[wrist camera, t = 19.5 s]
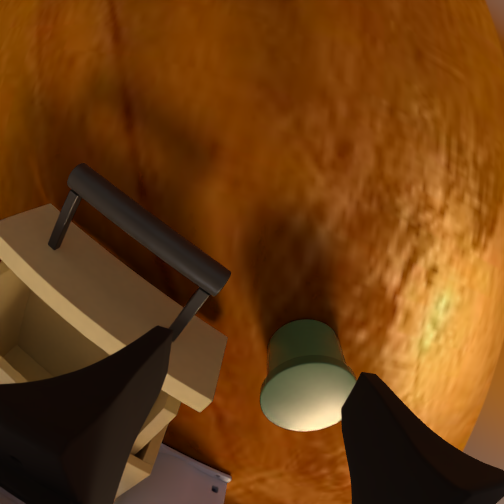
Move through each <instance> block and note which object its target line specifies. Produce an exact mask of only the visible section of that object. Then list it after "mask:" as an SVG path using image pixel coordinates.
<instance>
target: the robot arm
mask: <svg viewBox="0 0 504 504" xmlns="http://www.w3.org/2000/svg"><path fill="white" fill-rule="evenodd" d="M172 337H173V330H172V329H168V328H165V327H162V326H158V325H157V326H155V327H154V328H152V329H151V330H149V331H148V332H147V333H145V334H144V335H142V336H141V337H139V338H138V339H136V340H135V341H133V342H132V343H130V344H129V345H127V346H125V347H124V348H122V349H120V350H119V351H117V352H115V353H113V354H112V355H110V356H108V357H106V358H104V359H102V360H100V361H98V362H96V363H94V364H92V365H89V366H87V367H84V368H82V369H79V370H77V371H73V372H70V373H67V374H63V375H60V376H56V377H53V378H48V379H43V380H38V381H32V382H24V383H11V384H0V504H113V503H114V504H224V499H225V493H226V486H227V483H228V482H230V481H231V476H229V475H227V474H225V473H222V472H220V471H218V470H216V469H213V468H211V467H209V466H207V465H204V464H202V463H200V462H198V461H196V460H194V459H192V458H190V457H188V456H186V455H184V454H182V453H180V452H178V451H176V450H174V449H172V448H170V447H168V446H166V445H164V444H163V443H161V446H160V449H159V452H158V454H157V457H156V460H155V463H154V466H153V468H152V471H151V474H150V475H149V476H148V477H146V478H145V479H143V480H142V481H141V482H139V483H138V484H136V485H135V486H133V487H132V488H131V489H129V490H128V491H126V492H125V493H123V494H122V495H120V496H119V497H117V498H116V499H115V496H116V493H117V490H118V487H119V484H120V481H121V478H122V475H123V472H124V469H125V466H126V463H127V460H128V458H129V455H130V452H131V450H132V447H133V444H134V442H135V440H136V438H137V436H138V434H139V432H140V430H141V428H142V426H143V424H144V422H145V420H146V419H147V417H148V415H149V413H150V411H151V409H152V407H153V405H154V403H155V401H156V400H157V398H158V396H159V394H160V391H161V389H162V386H163V383H164V380H165V378H166V375H167V372H168V365H169V358H170V351H171V344H172ZM341 422H342V433H343V439H344V444H345V450H346V455H347V460H348V466H349V471H350V477H351V488H352V504H496V503H497V502H498V501H499V500H500V499H501V498H502V497H504V471H503V470H501V469H499V468H496V467H493V466H491V465H488V464H485V463H483V462H481V461H479V460H477V459H475V458H473V457H471V456H469V455H467V454H465V453H463V452H462V451H460V450H458V449H457V448H455V447H454V446H452V445H451V444H449V443H448V442H446V441H445V440H443V439H442V438H441V437H440V436H438V435H437V434H436V433H434V432H433V431H432V430H431V429H430V428H428V427H427V426H426V425H425V424H424V423H423V422H422V421H421V420H420V419H419V418H418V417H417V416H415V415H414V414H413V412H412V411H411V410H410V409H409V408H408V407H407V406H406V405H405V404H404V403H403V402H402V401H401V400H400V399H399V398H398V397H397V396H396V395H395V394H394V392H393V391H392V390H391V389H390V388H389V387H388V386H387V385H386V384H385V383H384V382H383V381H382V380H381V379H380V378H379V377H378V376H377V375H376V374H372V373H365V372H362V373H361V374H360V376H359V378H358V380H357V382H356V384H355V385H354V387H353V389H352V391H351V392H350V394H349V396H348V398H347V399H346V401H345V403H344V404H343V406H342V408H341ZM114 499H115V501H114Z"/></svg>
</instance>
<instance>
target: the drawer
mask: <svg viewBox="0 0 504 504" xmlns="http://www.w3.org/2000/svg"><path fill="white" fill-rule="evenodd" d="M67 184H68V187H70V188H71V189H72V190H70V192H69V194H68V196H67V198H66V200H65V203H64V205H63V207H62V210H61V212H60V211H59V210H58V209H56V208H55V207H54V206H53V205H52V204H47V205H44V206H41V207H38V208H35V209H32V210H29V211H26V212H23V213H20V214H17V215H14V216H11V217H8V218H5V219H2V220H0V259H1V260H2V262H0V355H1V356H2V357H3V358H4V359H5V360H6V361H7V362H8V363H9V364H10V365H11V366H12V367H13V368H14V369H15V370H16V371H18V372H19V373H20V374H21V375H22V376H23V377H24V378H25V379H26V380H28V381H29V382H32V381H38V380H43V379H48V378H53V377H56V376H60V375H63V374H67V373H70V372H73V371H77V370H79V369H82V368H84V367H87V366H89V365H92V364H94V363H96V362H98V361H100V360H102V359H104V358H106V357H108V356H110V355H112V354H113V353H115V352H117V351H119V350H120V349H122V348H124V347H125V346H127V345H129V344H130V343H132V342H133V341H135V340H136V339H138V338H139V337H141V336H142V335H144V334H145V333H147V332H148V331H149V330H151V329H152V328H154V327H155V326H157V325H158V326H162V327H165V328H168V329H172V330H173V337H172V344H171V351H170V358H169V365H168V372H167V375H166V378H165V380H164V383H163V386H162V389H161V391H160V394H159V396H158V398H157V400H156V401H155V403H154V405H153V407H152V409H151V411H150V413H149V415H148V417H147V419H146V420H145V422H144V424H143V426H142V428H141V430H140V432H139V434H138V436H137V438H136V440H135V442H134V444H133V447H132V450H131V452H130V454H132V455H135V454H136V453H137V452H138V451H139V450H141V449H142V448H143V447H144V446H145V445H146V444H147V443H148V442H149V441H150V440H151V439H152V438H153V437H154V436H155V435H157V434H158V433H159V432H160V431H161V430H162V429H163V428H164V427H165V426H166V425H167V424H168V423H169V422H170V421H171V420H172V419H173V418H174V417H175V416H176V415H177V413H178V410H179V407H180V404H181V402H183V403H184V404H186V405H188V406H189V407H191V408H193V409H195V410H196V411H198V412H201V411H202V410H203V409H205V408H206V407H207V406H208V405H209V404H210V403H211V402H212V401H213V397H214V393H215V389H216V385H217V381H218V376H219V372H220V368H221V364H222V360H223V355H224V351H225V347H226V343H227V339H228V337H226V336H225V335H223V334H222V333H220V332H219V331H217V330H216V329H214V328H213V327H211V326H210V325H208V324H207V323H205V322H204V321H202V320H201V319H200V318H198V317H197V316H195V314H196V313H197V311H198V310H199V309H200V307H201V306H202V305H203V304H204V302H205V301H206V300H207V298H208V297H209V296H210V294H211V295H212V296H216V295H217V294H218V293H219V292H220V291H221V289H222V288H223V287H224V285H225V284H226V282H227V281H228V279H229V277H230V275H231V271H229V270H228V269H227V268H225V267H224V266H222V265H221V264H220V263H218V262H217V261H215V260H214V259H213V258H211V257H210V256H209V255H207V254H206V253H204V252H203V251H202V250H200V249H199V248H198V247H196V246H195V245H193V244H192V243H191V242H189V241H188V240H187V239H185V238H184V237H182V236H181V235H180V234H178V233H177V232H176V231H174V230H173V229H172V228H170V227H169V226H167V225H166V224H165V223H163V222H162V221H161V220H159V219H158V218H157V217H155V216H154V215H153V214H151V213H150V212H149V211H147V210H146V209H145V208H143V207H142V206H141V205H139V204H138V203H137V202H135V201H134V200H133V199H131V198H130V197H129V196H127V195H126V194H125V193H123V192H122V191H121V190H119V189H118V188H117V187H115V186H114V185H113V184H112V183H110V182H109V181H108V180H106V179H105V178H104V177H102V176H101V175H100V174H99V173H97V172H96V171H95V170H93V169H92V168H91V167H89V166H88V165H87V164H85V163H81V164H79V165H77V166H76V167H75V168H74V169H73V171H72V172H71V173H70V175H69V177H68V181H67ZM82 198H83V199H84V200H86V201H87V202H88V203H89V204H91V205H92V206H93V207H94V208H96V209H97V210H98V211H99V212H101V213H102V214H103V215H104V216H106V217H107V218H108V219H109V220H111V221H112V222H113V223H115V224H116V225H117V226H118V227H120V228H121V229H122V230H124V231H125V232H126V233H127V234H129V235H130V236H131V237H133V238H134V239H135V240H137V241H138V242H139V243H141V244H142V245H143V246H145V247H146V248H147V249H149V250H150V251H151V252H153V253H154V254H155V255H157V256H158V257H159V258H161V259H162V260H163V261H165V262H166V263H167V264H169V265H170V266H172V267H173V268H174V269H176V270H177V271H178V272H180V273H181V274H183V275H184V276H185V277H187V278H188V279H189V280H191V281H192V282H194V283H195V284H197V285H198V286H199V288H198V289H197V290H196V292H195V293H194V294H193V296H192V297H191V298H190V300H189V301H188V302H187V304H186V305H185V307H182V306H181V305H179V304H178V303H176V302H175V301H174V300H172V299H171V298H169V297H168V296H167V295H165V294H164V293H162V292H161V291H160V290H158V289H157V288H156V287H154V286H153V285H152V284H150V283H149V282H147V281H146V280H145V279H143V278H142V277H141V276H139V275H138V274H137V273H135V272H134V271H133V270H131V269H130V268H129V267H128V266H126V265H125V264H124V263H122V262H121V261H120V260H118V259H117V258H116V257H115V256H113V255H112V254H111V253H110V252H108V251H107V250H106V249H104V248H103V247H102V246H101V245H99V244H98V243H97V242H96V241H94V240H93V239H92V238H91V237H90V236H88V235H87V234H86V233H85V232H83V231H82V230H81V229H80V228H79V227H77V226H76V225H75V224H74V223H73V222H72V221H71V220H72V218H73V216H74V214H75V212H76V209H77V207H78V205H79V203H80V201H81V199H82Z"/></svg>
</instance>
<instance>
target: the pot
mask: <svg viewBox="0 0 504 504" xmlns="http://www.w3.org/2000/svg"><path fill="white" fill-rule="evenodd" d="M356 382H357V379H356V377H355V374H354V372H353V371H352V369H351V368H350V367H349V366H348V365H346V362H345V359H344V355H343V352H342V349H341V346H340V343H339V339H338V337H337V335H336V333H335V332H334V331H333V329H332V328H330V327H329V326H328V325H326V324H324V323H322V322H320V321H316V320H311V319H303V320H296V321H293V322H290V323H288V324H286V325H284V326H282V327H281V328H279V329H278V330H277V331H276V332H275V333H274V335H273V336H272V337H271V339H270V341H269V344H268V350H267V376H266V378H265V380H264V382H263V384H262V386H261V392H260V405H261V409H262V411H263V413H264V414H265V416H266V417H267V418H268V419H269V420H270V421H271V422H273V423H274V424H276V425H277V426H280V427H282V428H285V429H288V430H293V431H314V430H320V429H324V428H326V427H329V426H331V425H334V424H336V423H337V422H339V421H341V408H342V406H343V404H344V403H345V401H346V399H347V398H348V396H349V394H350V392H351V391H352V389H353V387H354V385H355V384H356Z"/></svg>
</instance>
